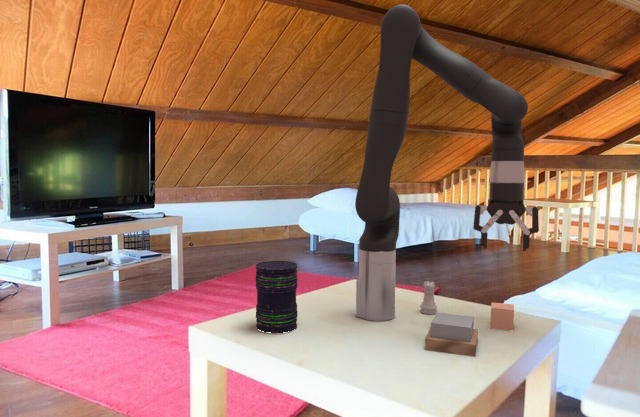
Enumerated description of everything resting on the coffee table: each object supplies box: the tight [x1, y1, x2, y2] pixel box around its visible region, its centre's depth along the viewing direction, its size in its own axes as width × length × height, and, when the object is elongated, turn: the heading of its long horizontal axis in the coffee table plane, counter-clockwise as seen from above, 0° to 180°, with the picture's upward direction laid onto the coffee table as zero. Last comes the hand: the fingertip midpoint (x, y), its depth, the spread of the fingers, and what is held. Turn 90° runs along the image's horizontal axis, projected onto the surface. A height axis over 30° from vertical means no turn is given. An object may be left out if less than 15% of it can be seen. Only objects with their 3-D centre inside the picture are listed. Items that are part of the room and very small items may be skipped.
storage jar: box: [255, 260, 299, 334], centre depth 114 cm, size 10×10×15 cm
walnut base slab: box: [424, 326, 479, 358], centre depth 103 cm, size 10×10×3 cm
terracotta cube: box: [490, 302, 515, 331], centre depth 115 cm, size 5×5×5 cm
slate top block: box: [430, 311, 475, 342], centre depth 103 cm, size 8×8×3 cm
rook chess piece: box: [419, 280, 438, 315], centre depth 126 cm, size 4×4×8 cm
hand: (504, 249), depth 114 cm, fingers open, 8 cm apart
